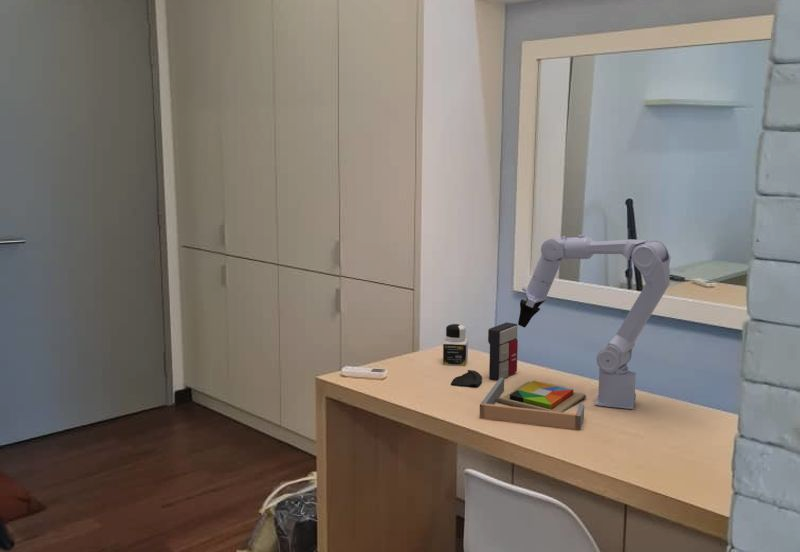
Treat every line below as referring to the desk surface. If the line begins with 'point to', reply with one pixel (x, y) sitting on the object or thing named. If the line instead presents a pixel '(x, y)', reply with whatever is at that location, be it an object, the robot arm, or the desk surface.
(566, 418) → the bay
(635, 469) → the desk surface
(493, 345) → the grey and red box
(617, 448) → the desk surface
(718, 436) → the desk surface
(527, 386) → the wooden puzzle
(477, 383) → the dark sector wedge
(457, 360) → the medicine bottle
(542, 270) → the robot arm
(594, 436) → the desk surface
